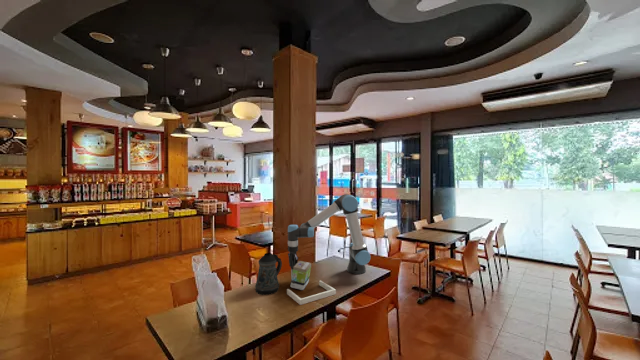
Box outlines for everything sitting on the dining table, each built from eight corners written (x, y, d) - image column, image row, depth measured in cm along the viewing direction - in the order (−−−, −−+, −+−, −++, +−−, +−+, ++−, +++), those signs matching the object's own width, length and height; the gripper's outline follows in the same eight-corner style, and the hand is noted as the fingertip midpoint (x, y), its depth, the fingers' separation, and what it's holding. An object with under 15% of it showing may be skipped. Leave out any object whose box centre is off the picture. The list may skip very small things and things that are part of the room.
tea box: (303, 290, 185) (306, 269, 184) (289, 287, 187) (292, 266, 186) (309, 282, 200) (311, 262, 199) (296, 279, 202) (298, 259, 201)
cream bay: (320, 284, 195) (320, 280, 195) (336, 294, 179) (335, 289, 179) (286, 293, 180) (286, 289, 180) (300, 305, 165) (300, 300, 165)
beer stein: (250, 293, 181) (249, 256, 180) (264, 282, 199) (263, 249, 199) (273, 296, 176) (272, 258, 176) (284, 284, 195) (284, 250, 194)
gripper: (284, 244, 205) (284, 275, 205) (292, 248, 194) (292, 281, 194) (293, 243, 209) (293, 273, 209) (301, 246, 198) (301, 278, 198)
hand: (293, 277), depth 202 cm, fingers closed
